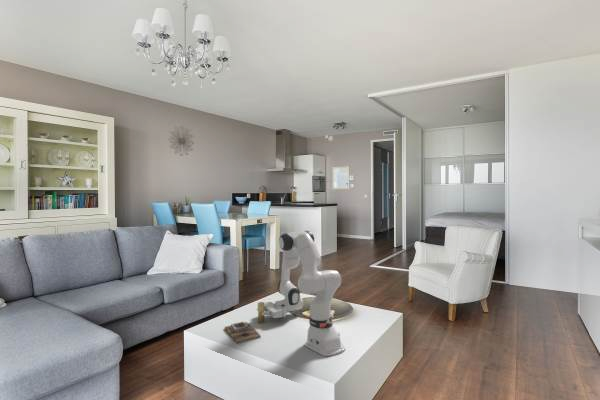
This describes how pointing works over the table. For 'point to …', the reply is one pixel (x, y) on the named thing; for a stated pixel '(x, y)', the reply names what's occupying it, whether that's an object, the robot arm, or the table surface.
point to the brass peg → (260, 310)
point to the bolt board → (242, 332)
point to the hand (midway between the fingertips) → (259, 311)
